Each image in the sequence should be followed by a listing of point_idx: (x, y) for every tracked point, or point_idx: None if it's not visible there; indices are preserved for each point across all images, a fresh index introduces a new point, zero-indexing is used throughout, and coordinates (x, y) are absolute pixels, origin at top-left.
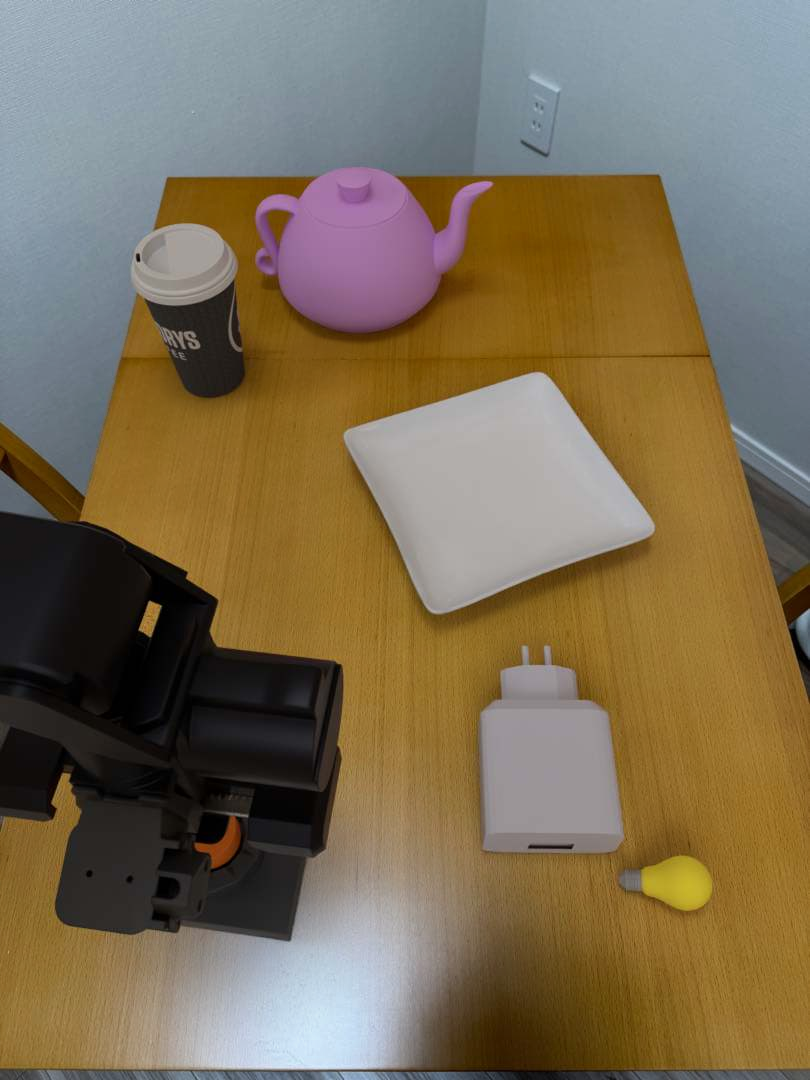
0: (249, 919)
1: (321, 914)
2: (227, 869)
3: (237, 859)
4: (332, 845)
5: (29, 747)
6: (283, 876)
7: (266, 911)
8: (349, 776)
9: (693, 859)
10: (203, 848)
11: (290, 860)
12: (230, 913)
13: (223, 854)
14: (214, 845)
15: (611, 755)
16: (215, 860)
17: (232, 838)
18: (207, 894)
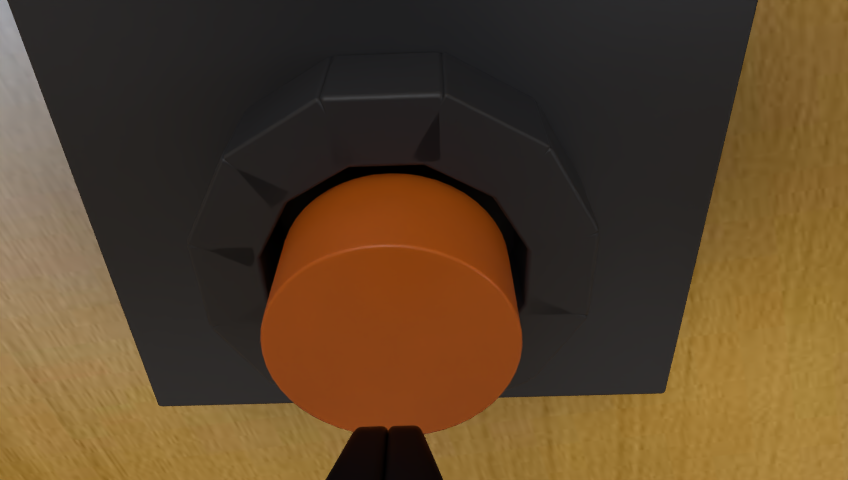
0: (166, 3)
1: (3, 45)
2: (282, 191)
3: (260, 228)
4: (81, 236)
5: None
6: (117, 167)
7: (117, 43)
8: (127, 386)
9: None
10: (369, 292)
11: (121, 217)
12: (253, 11)
13: (285, 270)
14: (326, 308)
15: None
16: (313, 243)
17: (263, 337)
18: (344, 79)
